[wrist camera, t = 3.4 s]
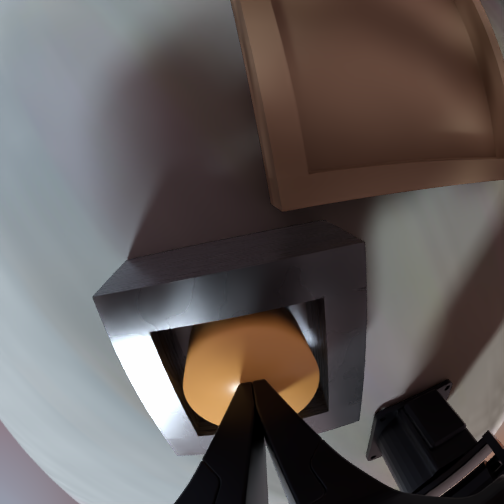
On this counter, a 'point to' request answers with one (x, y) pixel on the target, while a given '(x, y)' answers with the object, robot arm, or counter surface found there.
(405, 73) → the wooden tray
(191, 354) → the button
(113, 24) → the counter surface
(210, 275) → the panel
